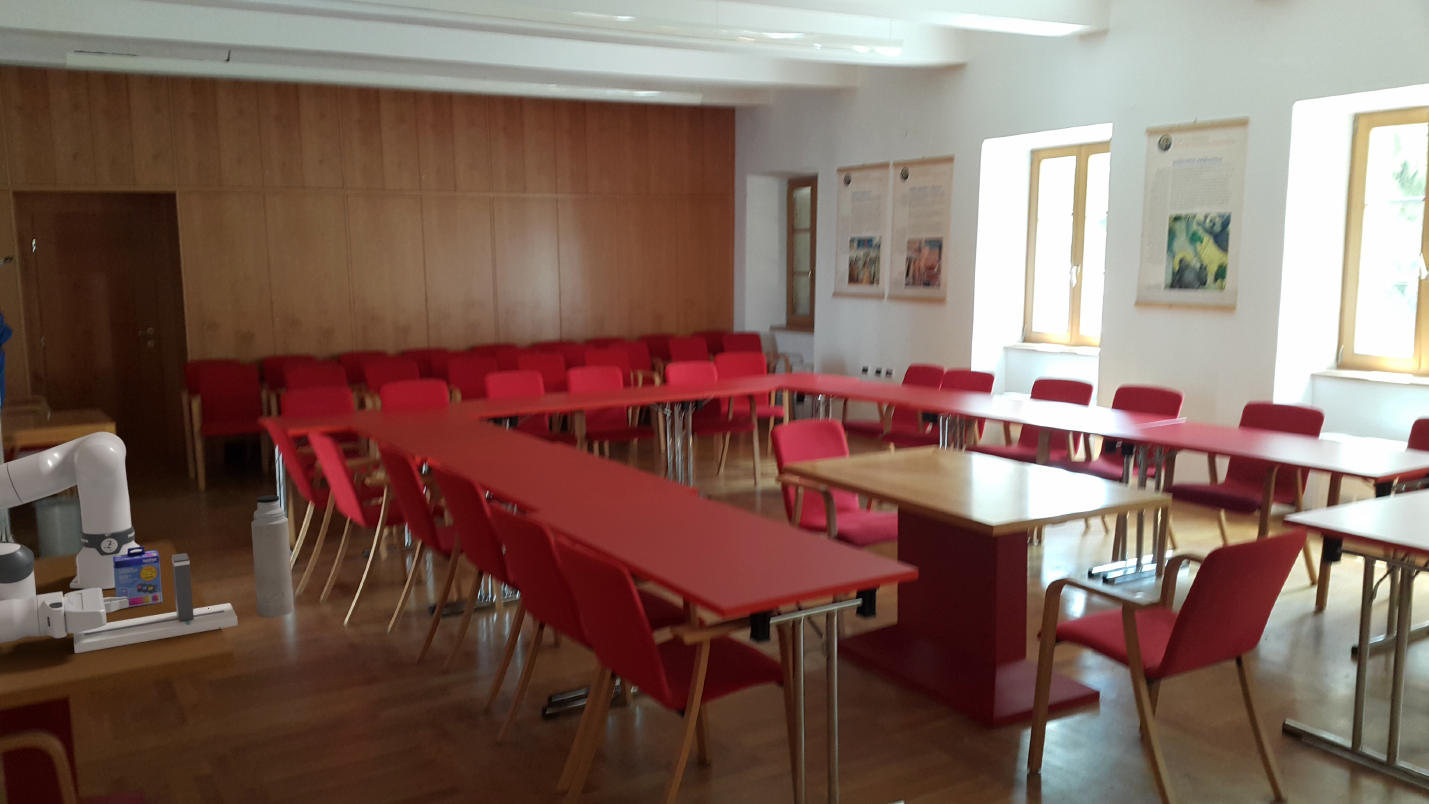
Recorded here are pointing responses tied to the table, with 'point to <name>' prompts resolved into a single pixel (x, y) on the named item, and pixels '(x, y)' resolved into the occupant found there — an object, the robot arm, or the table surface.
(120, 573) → the ink cartridge box
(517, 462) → the table surface
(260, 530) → the thermos bottle
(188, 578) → the fader knob
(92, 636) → the fader board
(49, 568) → the table surface
